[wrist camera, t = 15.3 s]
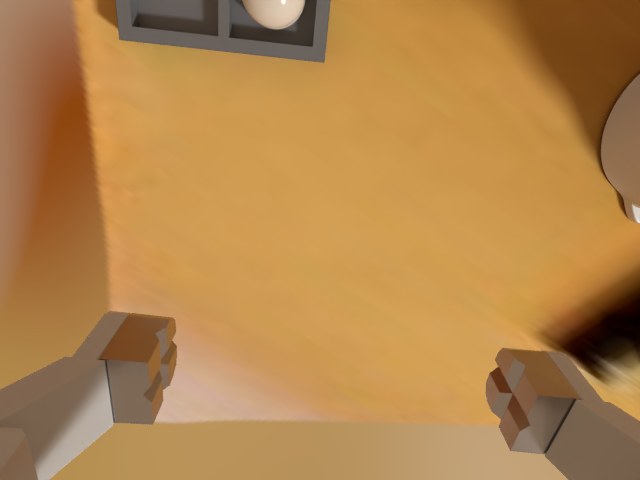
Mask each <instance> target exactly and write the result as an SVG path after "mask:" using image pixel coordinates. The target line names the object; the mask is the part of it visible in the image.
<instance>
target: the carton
mask: <svg viewBox="0 0 640 480" xmlns="http://www.w3.org/2000/svg"><path fill="white" fill-rule="evenodd" d="M115 1H116V11H117V21H118V31H119V40H126V41H135V42H143V43H152V44H161V45H170V46H179V47H188V48H197V49H206V50H215V51H224V52H233V53H242V54H251V55H260V56H269V57H278V58H287V59H296V60H305V61H314V62H323V63H324V61H325V51H326V41H327V31H328V21H329V11H330V1H331V0H305V5H304V9H303V12H302V14H301V16H300V17H299V19H298V20H297V21H296V22H295V23H294V24H293V25H292V26H290V27H288V28H286V29H282V30H274V29H270V28H267V27H264V26H262V25H260V24H259V23H257V22H256V21H255V20H254V19H253V18H252V17H251V16H250V15H249V13H248V12H247V10H246V8H245V6H244V4H243V1H242V0H115Z"/></svg>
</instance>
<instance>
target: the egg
mask: <svg viewBox="0 0 640 480" xmlns="http://www.w3.org/2000/svg"><path fill="white" fill-rule="evenodd" d="M242 1H243V4H244V6H245V8H246V10H247V12H248V13H249V15H250V16H251V17H252V18H253V19H254V20H255V21H256V22H257V23H259V24H260V25H262V26H264V27H267V28H270V29H274V30H282V29H286V28H288V27H290V26H292V25H293V24H294V23H295V22H296V21H297V20H298V19H299V17H300V16H301V14H302V12H303V9H304V5H305V0H242Z"/></svg>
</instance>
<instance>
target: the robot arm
mask: <svg viewBox="0 0 640 480" xmlns="http://www.w3.org/2000/svg"><path fill="white" fill-rule="evenodd" d="M601 160H602V165H603V169H604V172H605V174H606V176H607V178H608V180H609V181H610V183H611V184H612V185H613V186H614V187H615V189H616V190H617V191H618V192H619V193H620V194H621V196H622V197H623V200H624V206H625V211H626V214H627V216H628V218H629V219H630V220H631V221H634V222H636V223H639V224H640V74H639V75H638V76H637V77H636V78H635V79H634V80H633V81H632V82H631V83H630V84H629V85H628V87H627V88H626V89H625V90H624V92H623V93H622V95H621V96H620V97H619V99H618V100H617V102H616V104H615V105H614V107H613V109H612V111H611V113H610V115H609V118H608V120H607V123H606V125H605V129H604V132H603V137H602V143H601ZM175 333H176V323H175V320H174V318H171V317H162V316H154V315H145V314H136V313H125V312H115V311H110V312H107V313H106V314H104V316H103V317H102V318H101V320H100V321H99V322H98V324H97V325H96V326H95V328H94V329H93V330H92V332H91V333H90V334H89V335H88V337H87V338H86V339H85V341H84V342H83V344H82V345H81V346H80V347H79V349H78V350H77V351H76V353H75V354H74V355H73V357H71V358H70V357H64V358H62V359H60V360H58V361H56V362H54V363H52V364H50V365H48V366H46V367H44V368H42V369H40V370H38V371H36V372H34V373H32V374H30V375H28V376H27V377H24V378H22V379H21V380H18V381H17V382H15V383H13V384H11V385H9V386H7V387H5V388H3V389H1V390H0V480H49V479H50V478H51V477H52V476H54V475H55V474H56V473H57V472H58V471H60V470H61V469H62V468H63V467H64V466H66V465H67V464H68V463H69V462H70V461H71V460H73V459H74V458H75V457H76V456H77V455H79V454H80V453H81V452H82V451H83V450H85V449H86V448H87V447H88V446H89V445H90V444H92V443H93V442H94V441H95V440H96V439H98V438H99V437H100V436H101V435H102V434H104V432H106V431H107V430H108V429H109V428H111V427H112V426H113V425H114V423H133V424H135V423H136V424H153V423H154V421H155V419H156V416H157V414H158V412H159V409H160V407H161V404H162V402H163V390H164V389H165V388H166V387H168V386H169V385H170V383H171V380H172V378H173V375H174V370H175V366H176V359H177V346H176V345H175V343H174V342H173V341H172V340H173V337H174V335H175ZM495 361H496V363H497V365H498V367H497V368H496V369H495V370H493V371H492V372H491V373H490V374H489V376H488V379H487V382H486V397H487V402H488V404H489V407H490V409H491V411H492V412H493V413H494V414H496V415H497V416H498V417H499V418H500V419H501V422H500V425H499V428H500V430H501V432H502V434H503V436H504V438H505V440H506V442H507V445H508V447H509V449H510V451H517V452H528V453H537V454H546V455H545V457H546V458H547V459H548V460H549V461H550V462H551V463H552V464H553V465H554V466H555V467H556V468H557V469H558V470H559V471H561V473H563V475H565V476H566V477H567V478H568V479H569V480H640V421H638V420H637V419H635V418H634V417H632V416H631V415H629V414H627V413H626V412H624V411H623V410H621V409H620V408H618V407H616V406H615V405H613V404H612V403H610V402H604V401H603V400H602V399H601V398H600V396H599V395H598V394H597V393H596V391H595V390H594V389H593V387H592V386H591V385H590V384H589V382H588V381H587V380H586V379H585V377H584V376H583V375H582V374H581V372H580V371H579V370H578V369H577V367H576V366H575V365H574V364H573V362H572V361H571V360H570V359H569V357H568V356H567V355H565V354H564V353H562V352H555V351H534V350H522V349H510V348H502V349H501V350H500V351H499V352H498V354H497V357H496V359H495Z"/></svg>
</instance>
